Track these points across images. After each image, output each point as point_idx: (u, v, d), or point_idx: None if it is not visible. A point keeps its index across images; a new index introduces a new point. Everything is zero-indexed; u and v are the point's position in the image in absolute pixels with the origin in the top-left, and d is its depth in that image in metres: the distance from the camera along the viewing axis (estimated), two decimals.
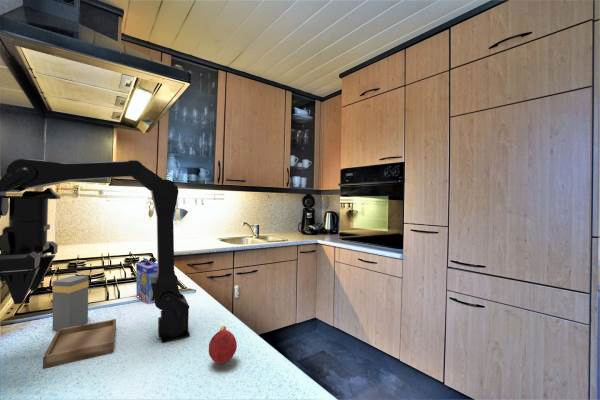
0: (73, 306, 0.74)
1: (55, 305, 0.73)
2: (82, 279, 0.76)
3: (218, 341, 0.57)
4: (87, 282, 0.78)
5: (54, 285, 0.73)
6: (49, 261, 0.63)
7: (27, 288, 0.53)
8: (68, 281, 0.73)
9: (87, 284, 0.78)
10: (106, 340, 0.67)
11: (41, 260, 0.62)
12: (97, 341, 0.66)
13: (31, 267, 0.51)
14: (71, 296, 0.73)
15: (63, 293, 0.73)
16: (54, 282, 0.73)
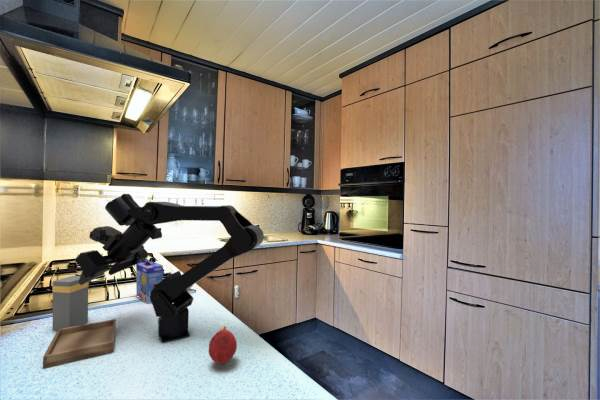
0: (73, 306, 0.74)
1: (55, 305, 0.73)
2: None
3: (218, 341, 0.57)
4: (87, 282, 0.78)
5: (54, 285, 0.73)
6: (129, 265, 0.79)
7: (87, 280, 0.69)
8: (68, 281, 0.73)
9: (87, 284, 0.78)
10: (106, 340, 0.67)
11: (127, 261, 0.79)
12: (97, 341, 0.66)
13: (90, 275, 0.65)
14: (71, 296, 0.73)
15: (63, 293, 0.73)
16: (54, 282, 0.73)
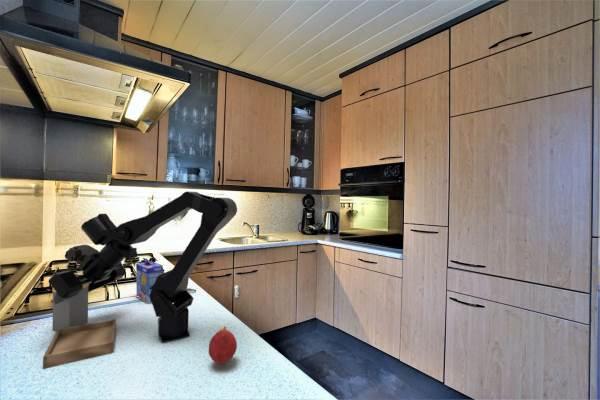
0: (74, 306, 0.74)
1: (55, 305, 0.73)
2: None
3: (218, 341, 0.57)
4: None
5: None
6: (107, 282, 0.80)
7: (62, 300, 0.70)
8: None
9: (87, 284, 0.78)
10: (106, 340, 0.67)
11: None
12: (97, 341, 0.66)
13: (63, 297, 0.66)
14: None
15: None
16: None
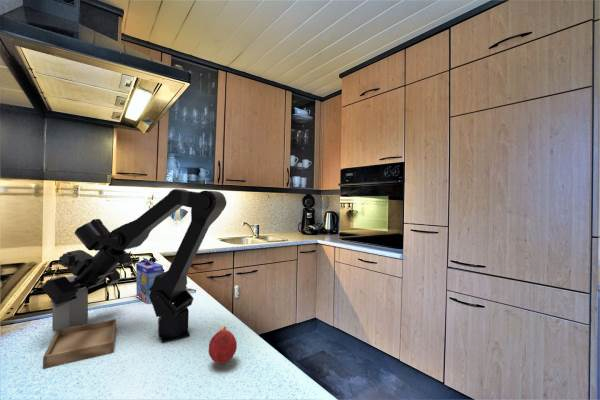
0: (73, 306, 0.74)
1: None
2: None
3: (218, 341, 0.57)
4: None
5: None
6: (96, 289, 0.78)
7: (62, 303, 0.71)
8: None
9: None
10: (106, 340, 0.67)
11: None
12: (97, 341, 0.66)
13: (56, 302, 0.66)
14: None
15: None
16: None
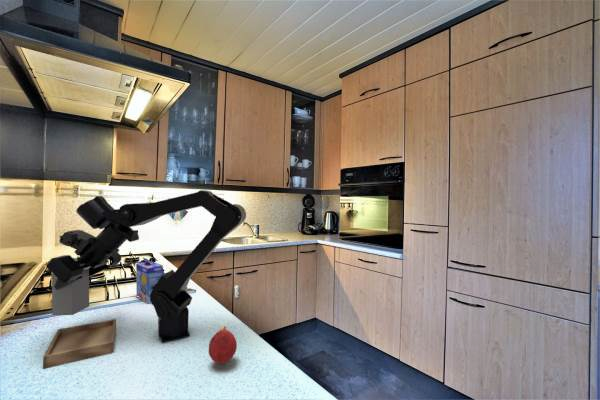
0: (76, 288, 0.70)
1: (54, 288, 0.69)
2: None
3: (218, 341, 0.57)
4: None
5: None
6: (98, 271, 0.75)
7: (65, 285, 0.68)
8: None
9: None
10: (106, 340, 0.67)
11: (95, 266, 0.75)
12: (97, 341, 0.66)
13: (64, 281, 0.62)
14: None
15: None
16: None
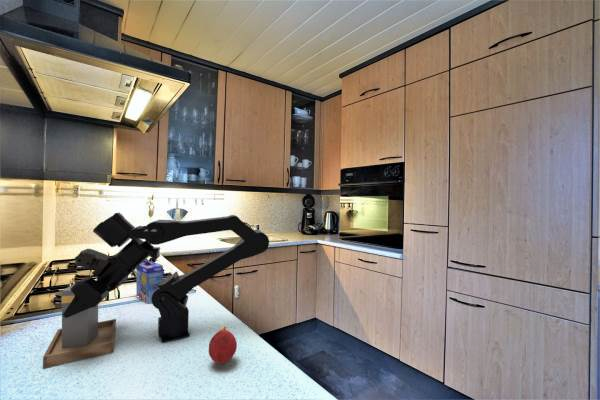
0: (90, 315, 0.65)
1: (65, 319, 0.63)
2: None
3: (218, 341, 0.57)
4: None
5: (64, 295, 0.63)
6: (111, 290, 0.72)
7: (79, 311, 0.61)
8: None
9: None
10: (106, 340, 0.67)
11: None
12: (97, 341, 0.66)
13: (93, 305, 0.59)
14: None
15: None
16: (64, 292, 0.63)
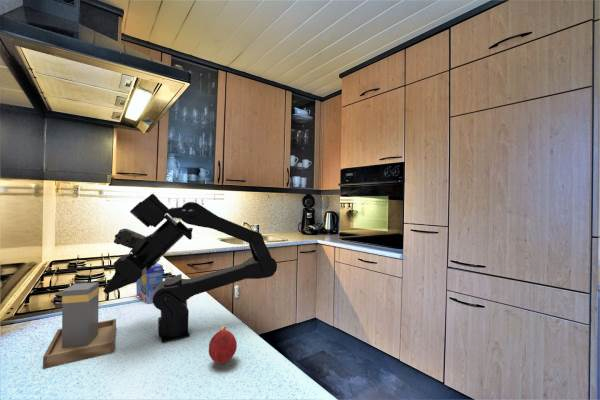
0: (90, 316, 0.65)
1: (65, 319, 0.63)
2: (95, 285, 0.68)
3: (218, 341, 0.57)
4: (97, 289, 0.69)
5: (65, 295, 0.63)
6: (145, 269, 0.74)
7: (119, 287, 0.63)
8: (84, 288, 0.64)
9: (98, 291, 0.69)
10: (106, 340, 0.67)
11: None
12: (97, 341, 0.66)
13: (134, 280, 0.61)
14: (89, 305, 0.65)
15: (79, 302, 0.64)
16: (65, 292, 0.63)
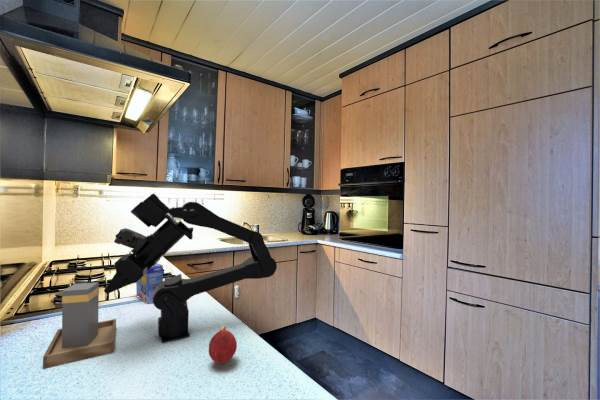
0: (90, 316, 0.65)
1: (65, 319, 0.63)
2: (95, 285, 0.68)
3: (218, 341, 0.57)
4: (97, 289, 0.69)
5: (65, 295, 0.63)
6: None
7: (119, 287, 0.63)
8: (84, 288, 0.64)
9: (98, 291, 0.69)
10: (106, 340, 0.67)
11: None
12: (97, 341, 0.66)
13: (136, 280, 0.61)
14: (89, 305, 0.65)
15: (79, 302, 0.64)
16: (65, 292, 0.63)
